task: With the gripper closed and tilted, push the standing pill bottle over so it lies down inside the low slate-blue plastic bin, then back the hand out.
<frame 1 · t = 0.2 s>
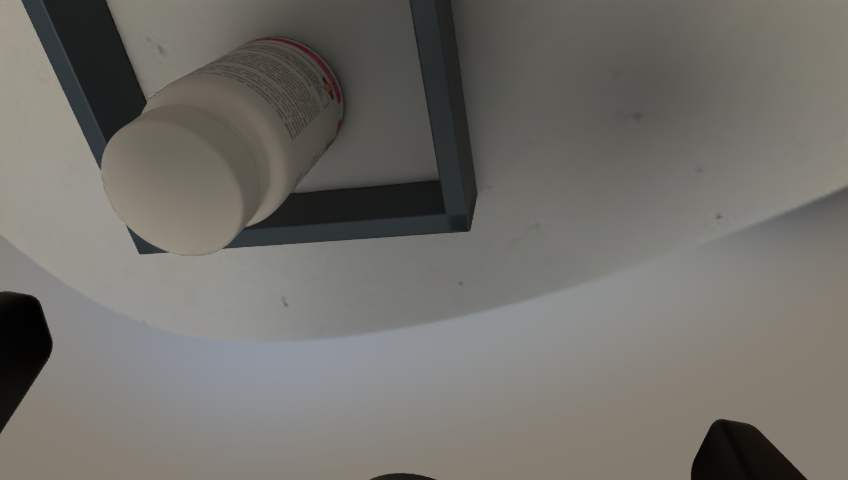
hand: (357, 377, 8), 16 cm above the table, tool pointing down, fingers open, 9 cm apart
pill bottle: (287, 97, 23), resting in bin
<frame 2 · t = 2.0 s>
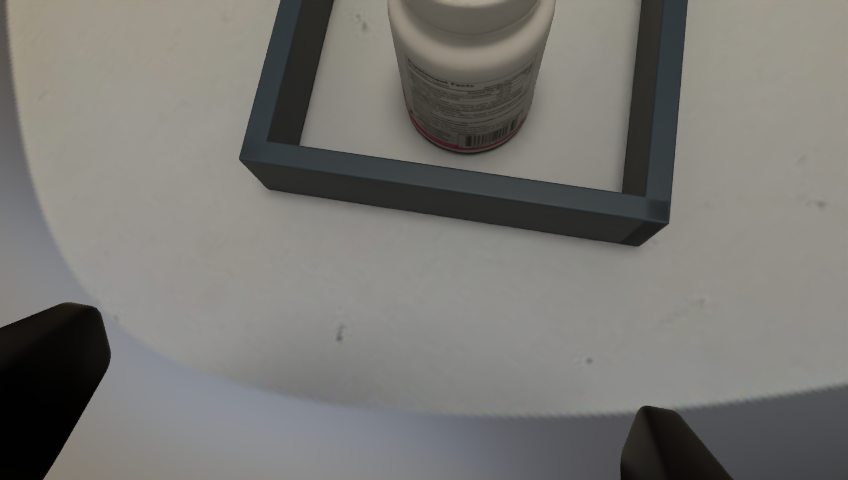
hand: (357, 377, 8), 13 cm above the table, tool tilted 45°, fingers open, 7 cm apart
bin: (484, 5, 23), on the table
pill bottle: (467, 99, 22), resting in bin
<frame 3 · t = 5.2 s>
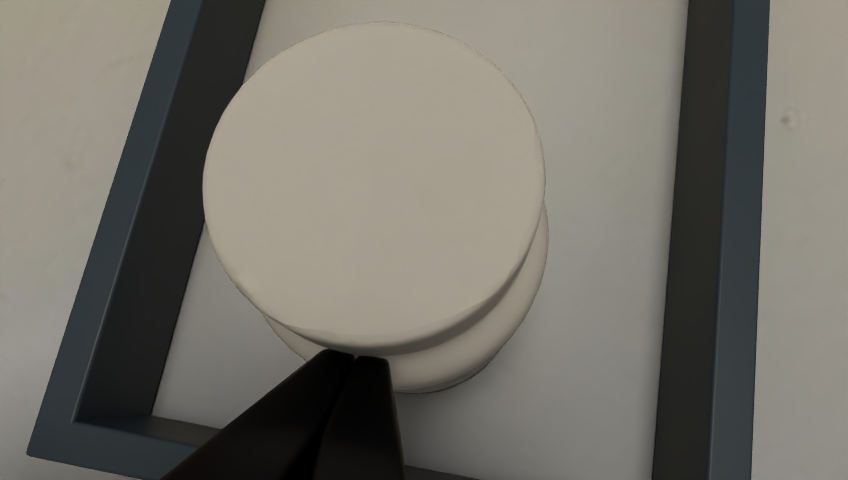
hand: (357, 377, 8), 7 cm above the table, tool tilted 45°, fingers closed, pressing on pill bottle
bin: (445, 150, 16), on the table
pill bottle: (418, 297, 15), resting in bin, touching gripper
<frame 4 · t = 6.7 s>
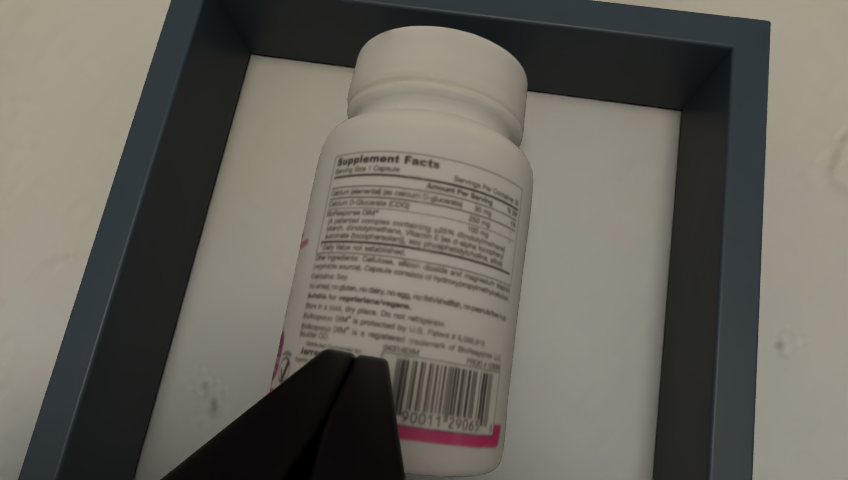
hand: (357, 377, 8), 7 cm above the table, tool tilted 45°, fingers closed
bin: (406, 374, 14), on the table
pill bottle: (377, 464, 12), point 2 cm above the table
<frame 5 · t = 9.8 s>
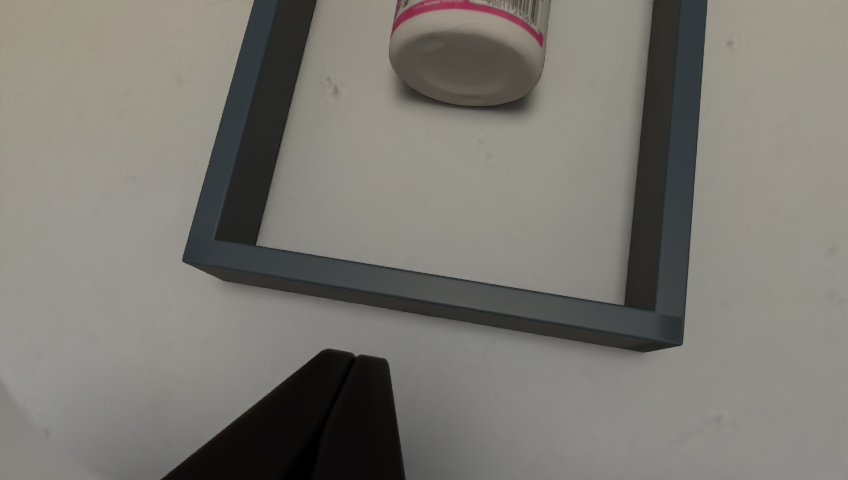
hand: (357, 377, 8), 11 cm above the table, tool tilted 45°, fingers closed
bin: (470, 67, 21), on the table
pill bottle: (461, 79, 18), point 2 cm above the table
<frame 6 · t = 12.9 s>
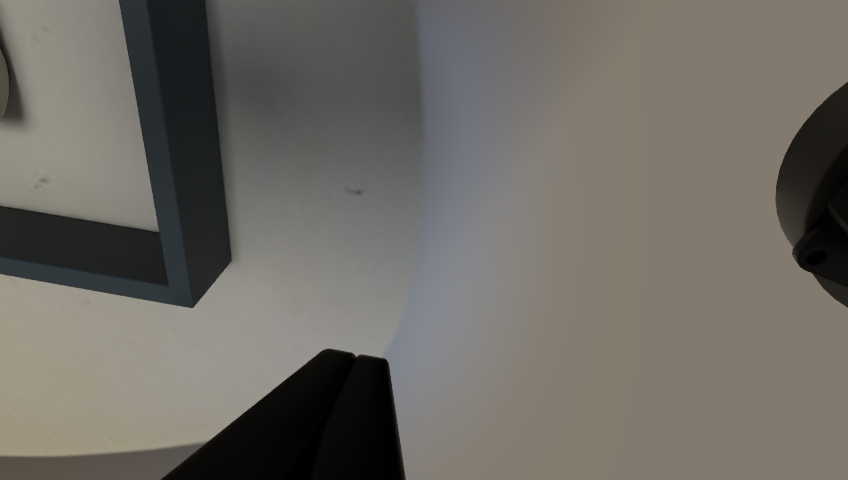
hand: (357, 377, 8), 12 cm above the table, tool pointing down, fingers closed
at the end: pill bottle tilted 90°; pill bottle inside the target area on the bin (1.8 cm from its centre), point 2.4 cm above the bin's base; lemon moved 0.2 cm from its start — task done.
